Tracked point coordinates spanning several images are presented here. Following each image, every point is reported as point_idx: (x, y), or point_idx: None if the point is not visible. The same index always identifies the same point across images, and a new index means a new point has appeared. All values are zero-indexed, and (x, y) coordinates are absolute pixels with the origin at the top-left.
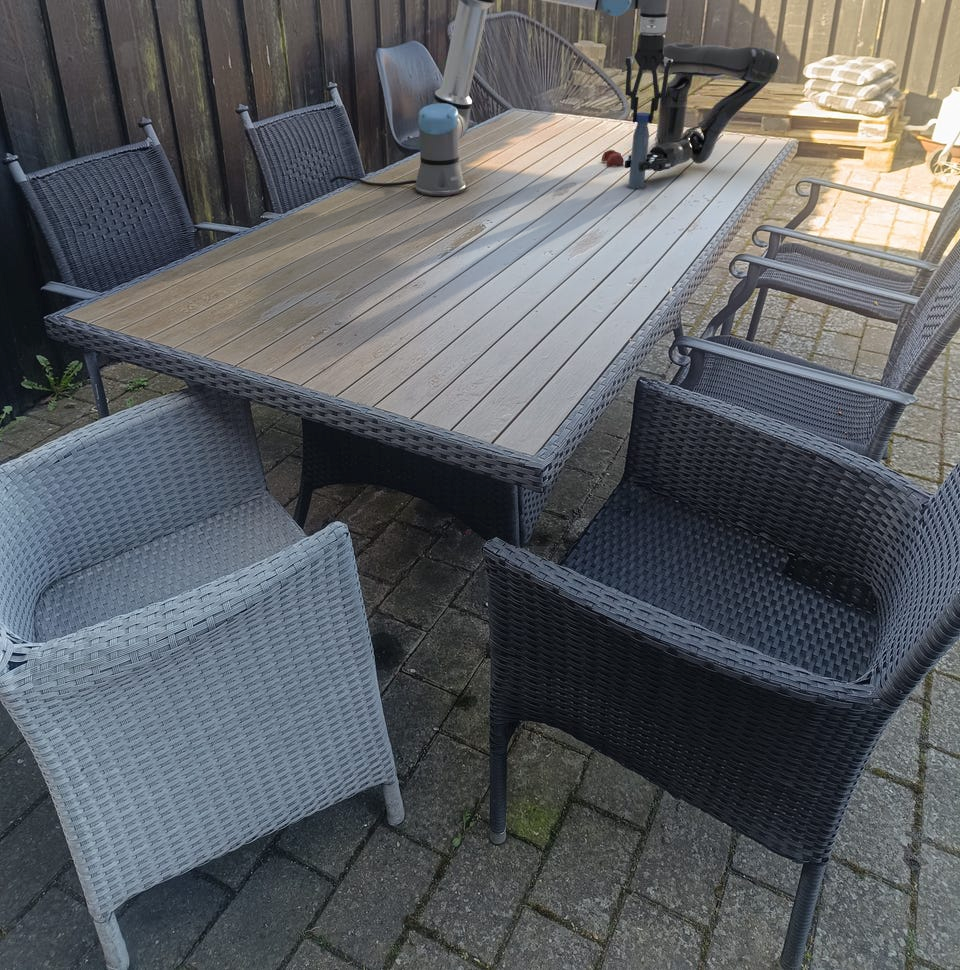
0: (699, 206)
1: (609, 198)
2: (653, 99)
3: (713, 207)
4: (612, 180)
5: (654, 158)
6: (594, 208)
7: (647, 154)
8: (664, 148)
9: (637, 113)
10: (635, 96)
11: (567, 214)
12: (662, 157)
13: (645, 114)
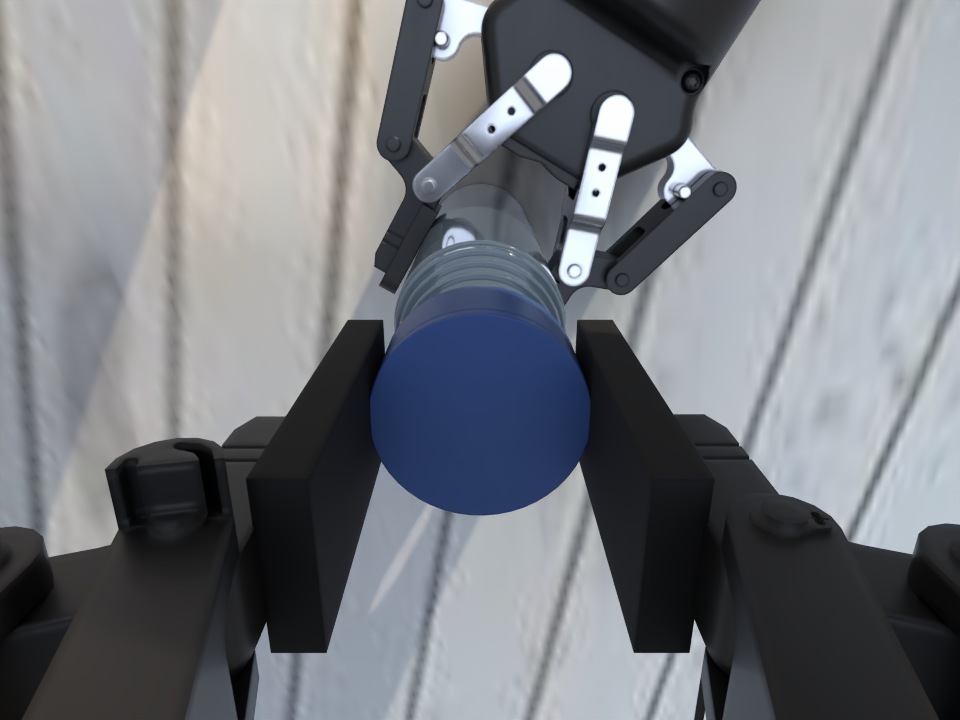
0: (839, 482)
1: (376, 480)
2: (671, 635)
3: (909, 479)
4: (308, 131)
5: (604, 220)
6: (344, 627)
7: (536, 109)
8: (696, 24)
9: (384, 406)
10: (257, 636)
11: (257, 716)
12: (667, 95)
13: (513, 439)
